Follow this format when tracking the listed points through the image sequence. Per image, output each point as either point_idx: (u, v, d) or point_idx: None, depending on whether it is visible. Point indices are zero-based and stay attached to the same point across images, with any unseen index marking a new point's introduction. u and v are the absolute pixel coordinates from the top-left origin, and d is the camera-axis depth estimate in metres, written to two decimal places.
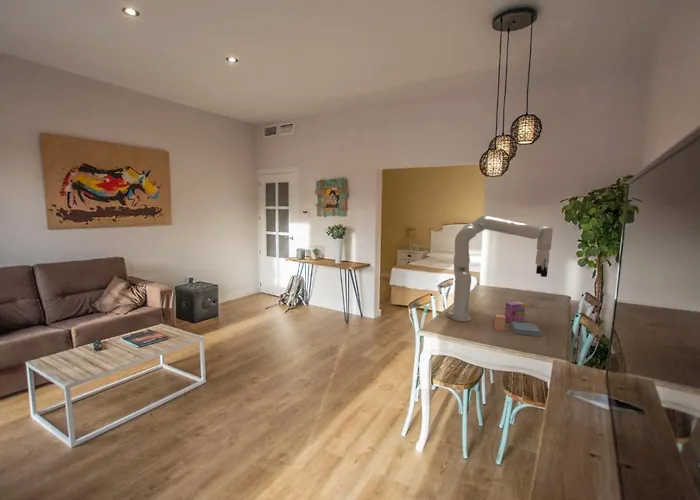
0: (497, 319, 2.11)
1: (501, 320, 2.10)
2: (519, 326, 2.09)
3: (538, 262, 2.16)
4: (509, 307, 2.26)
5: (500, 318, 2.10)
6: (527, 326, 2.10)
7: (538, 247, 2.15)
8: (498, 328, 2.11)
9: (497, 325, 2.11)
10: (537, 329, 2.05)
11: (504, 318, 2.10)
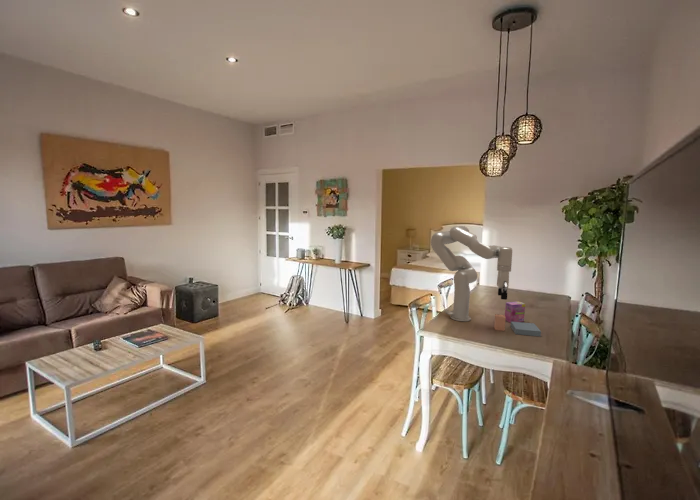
0: (497, 319, 2.11)
1: (501, 320, 2.10)
2: (519, 326, 2.09)
3: (498, 284, 2.09)
4: (509, 307, 2.26)
5: (500, 318, 2.10)
6: (527, 326, 2.10)
7: (498, 268, 2.08)
8: (498, 328, 2.11)
9: (497, 325, 2.11)
10: (537, 329, 2.05)
11: (504, 318, 2.10)
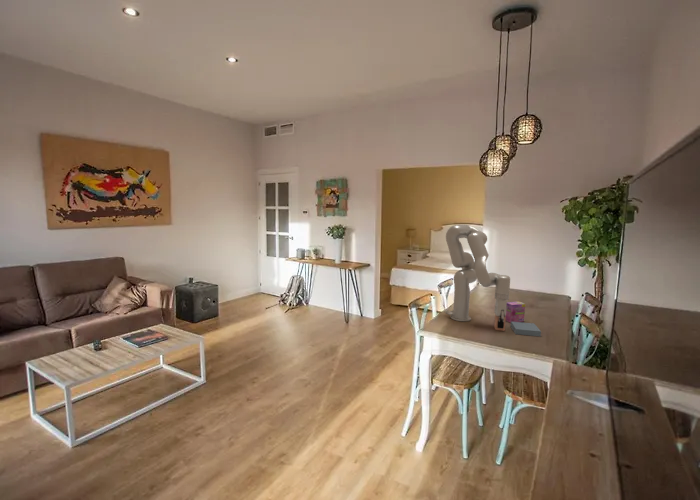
0: (497, 319, 2.11)
1: None
2: (519, 326, 2.09)
3: (496, 312, 2.11)
4: (509, 307, 2.26)
5: None
6: (527, 326, 2.10)
7: (496, 297, 2.10)
8: (498, 328, 2.11)
9: (497, 325, 2.11)
10: (537, 329, 2.05)
11: (504, 318, 2.10)
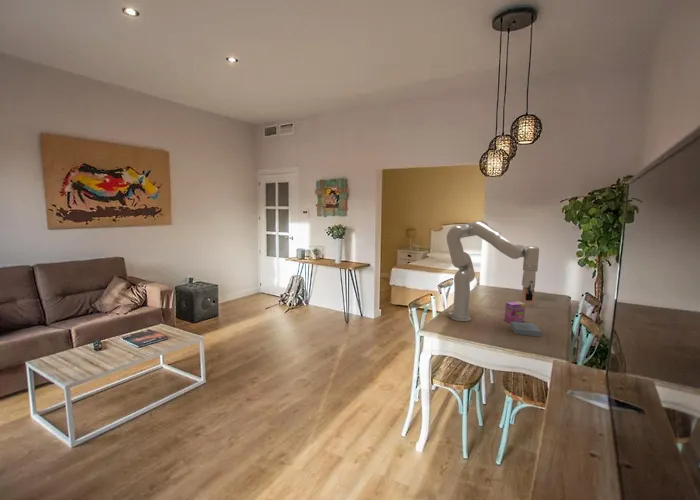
0: (525, 291, 2.05)
1: None
2: (519, 326, 2.09)
3: (524, 284, 2.06)
4: (509, 307, 2.26)
5: None
6: (527, 326, 2.10)
7: (524, 268, 2.05)
8: (526, 300, 2.06)
9: (525, 297, 2.06)
10: (537, 329, 2.05)
11: (533, 290, 2.05)
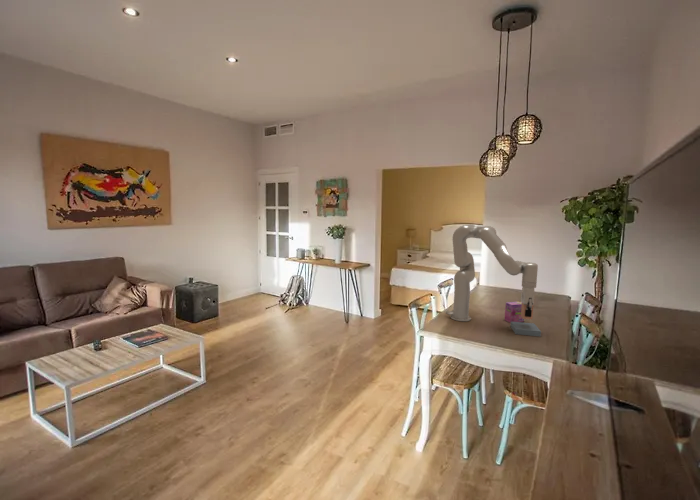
0: (525, 307, 2.07)
1: None
2: (519, 326, 2.09)
3: (523, 300, 2.07)
4: (509, 307, 2.26)
5: None
6: (527, 326, 2.10)
7: (523, 285, 2.06)
8: (526, 317, 2.07)
9: None
10: (537, 329, 2.05)
11: (532, 306, 2.06)
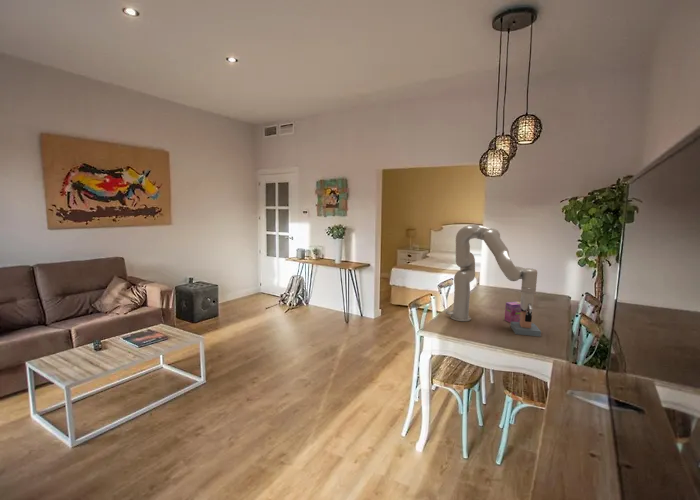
0: (523, 316, 2.07)
1: None
2: (519, 326, 2.09)
3: (522, 306, 2.07)
4: (509, 307, 2.26)
5: None
6: None
7: (522, 290, 2.07)
8: (524, 325, 2.08)
9: (523, 322, 2.08)
10: (537, 329, 2.05)
11: None
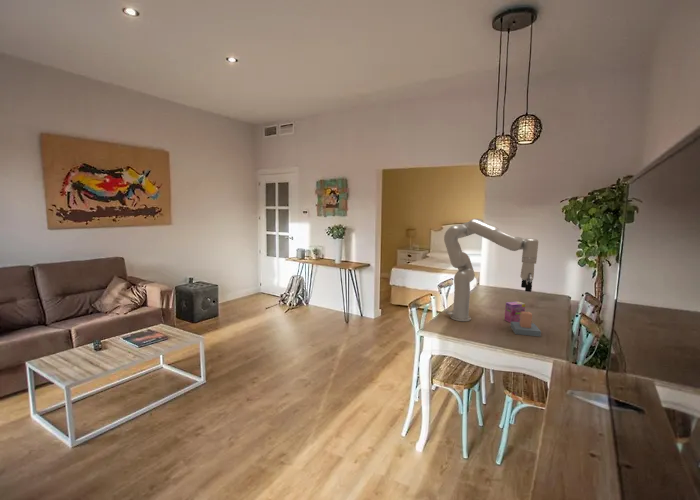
0: (523, 316, 2.07)
1: (527, 317, 2.07)
2: (519, 326, 2.09)
3: (523, 276, 2.06)
4: (509, 307, 2.26)
5: (526, 315, 2.07)
6: None
7: (523, 260, 2.06)
8: (524, 325, 2.08)
9: (523, 322, 2.08)
10: (537, 329, 2.05)
11: (530, 315, 2.06)
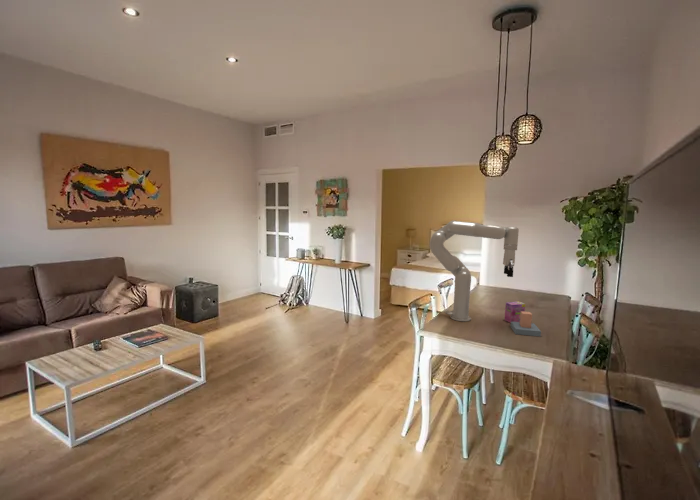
0: (523, 316, 2.07)
1: (527, 317, 2.07)
2: (519, 326, 2.09)
3: (504, 262, 2.18)
4: (509, 307, 2.26)
5: (526, 315, 2.07)
6: None
7: (504, 247, 2.17)
8: (524, 325, 2.08)
9: (523, 322, 2.08)
10: (537, 329, 2.05)
11: (530, 315, 2.06)
